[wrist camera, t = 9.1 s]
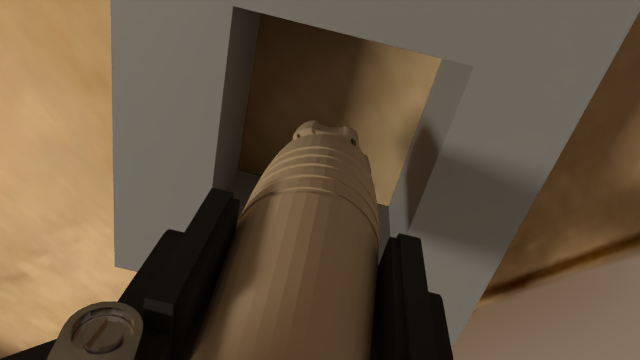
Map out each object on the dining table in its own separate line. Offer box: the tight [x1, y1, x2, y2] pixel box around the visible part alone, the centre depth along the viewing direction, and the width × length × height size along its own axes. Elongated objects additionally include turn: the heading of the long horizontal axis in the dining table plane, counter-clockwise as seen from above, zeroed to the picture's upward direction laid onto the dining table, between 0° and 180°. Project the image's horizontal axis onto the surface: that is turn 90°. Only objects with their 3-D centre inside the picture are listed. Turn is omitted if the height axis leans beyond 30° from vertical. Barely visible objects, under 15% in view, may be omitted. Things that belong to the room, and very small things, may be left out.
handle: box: [189, 120, 379, 360], centre depth 11 cm, size 5×6×15 cm
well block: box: [111, 0, 640, 347], centre depth 19 cm, size 16×16×5 cm
